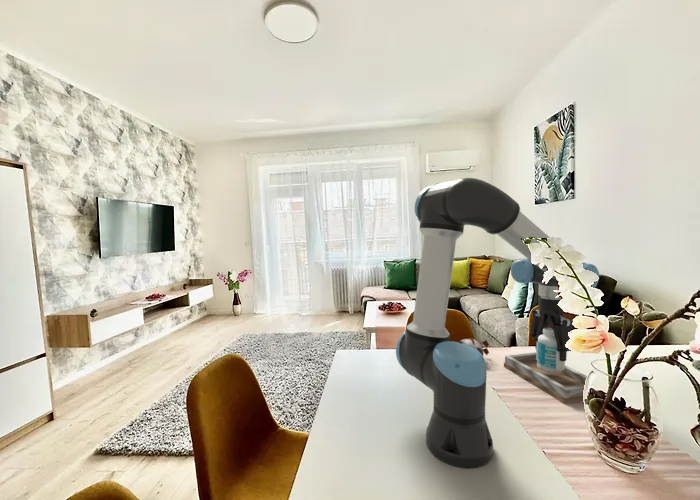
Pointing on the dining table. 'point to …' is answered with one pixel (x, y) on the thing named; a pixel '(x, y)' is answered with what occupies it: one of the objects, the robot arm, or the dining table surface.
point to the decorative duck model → (476, 345)
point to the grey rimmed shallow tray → (548, 378)
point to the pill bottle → (547, 351)
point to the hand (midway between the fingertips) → (549, 364)
